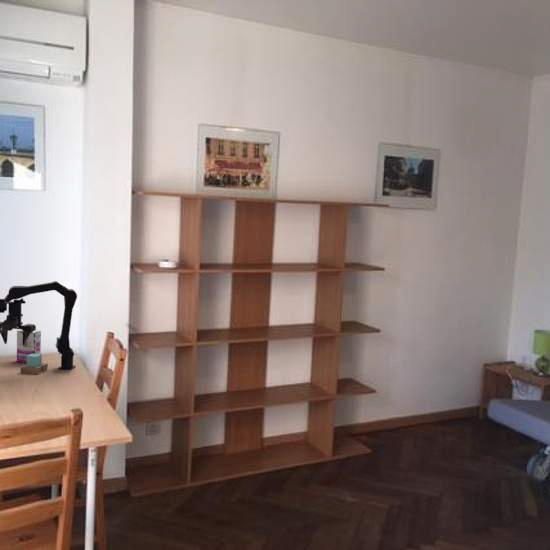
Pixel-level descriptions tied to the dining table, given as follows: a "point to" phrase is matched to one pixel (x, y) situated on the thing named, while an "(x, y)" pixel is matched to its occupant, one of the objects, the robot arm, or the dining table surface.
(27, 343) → the candy bar box
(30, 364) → the teal cube
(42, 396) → the dining table surface
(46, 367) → the walnut base block
